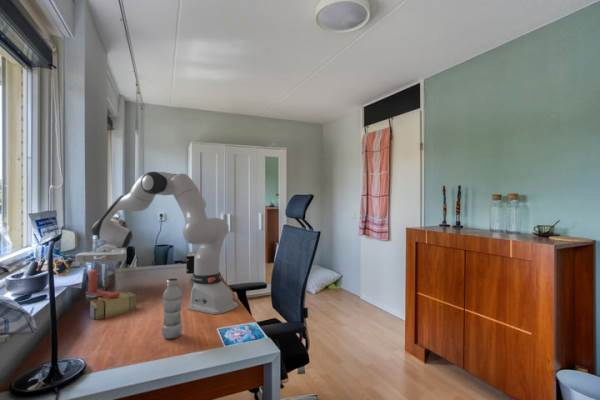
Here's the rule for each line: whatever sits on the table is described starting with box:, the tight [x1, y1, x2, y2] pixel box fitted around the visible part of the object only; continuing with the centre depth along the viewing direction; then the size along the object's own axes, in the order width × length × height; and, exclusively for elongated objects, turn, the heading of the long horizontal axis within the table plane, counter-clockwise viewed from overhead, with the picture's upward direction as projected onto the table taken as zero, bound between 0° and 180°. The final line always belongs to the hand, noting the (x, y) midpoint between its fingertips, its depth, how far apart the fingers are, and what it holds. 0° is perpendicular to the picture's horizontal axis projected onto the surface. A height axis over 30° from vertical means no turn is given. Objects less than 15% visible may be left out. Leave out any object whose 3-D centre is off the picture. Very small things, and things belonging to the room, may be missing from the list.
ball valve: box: [185, 250, 198, 284], centre depth 178 cm, size 18×8×18 cm, turn 15°
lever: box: [87, 269, 121, 297], centre depth 131 cm, size 14×4×10 cm, turn 81°
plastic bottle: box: [161, 277, 183, 340], centre depth 108 cm, size 6×7×20 cm
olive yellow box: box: [89, 291, 137, 320], centre depth 130 cm, size 16×8×7 cm, turn 141°
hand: (97, 260), depth 138 cm, fingers closed
